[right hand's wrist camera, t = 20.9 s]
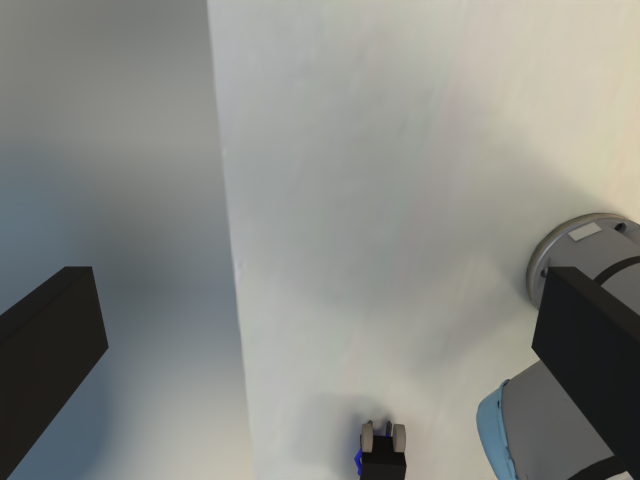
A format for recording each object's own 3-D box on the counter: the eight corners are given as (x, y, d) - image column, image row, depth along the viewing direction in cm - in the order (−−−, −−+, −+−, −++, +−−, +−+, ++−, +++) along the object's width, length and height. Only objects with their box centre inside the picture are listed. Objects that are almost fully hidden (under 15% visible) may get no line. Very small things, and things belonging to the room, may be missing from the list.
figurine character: (355, 403, 64) (350, 487, 67) (360, 439, 56) (354, 531, 60) (401, 405, 64) (393, 488, 68) (411, 441, 56) (402, 532, 60)
